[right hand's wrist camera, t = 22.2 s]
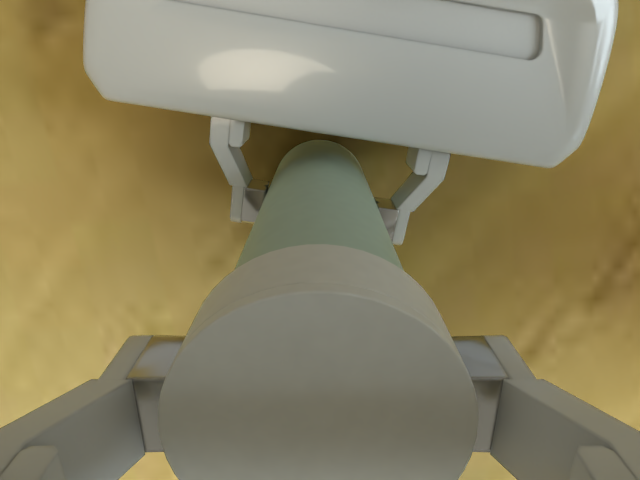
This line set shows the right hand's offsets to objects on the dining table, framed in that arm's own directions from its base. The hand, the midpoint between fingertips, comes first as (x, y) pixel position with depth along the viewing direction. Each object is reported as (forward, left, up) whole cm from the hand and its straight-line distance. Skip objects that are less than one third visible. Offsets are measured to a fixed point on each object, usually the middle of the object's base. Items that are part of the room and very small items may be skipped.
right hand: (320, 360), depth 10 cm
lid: (0, 0, +2) cm, 2 cm away
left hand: (0, +1, -12) cm, 12 cm away
